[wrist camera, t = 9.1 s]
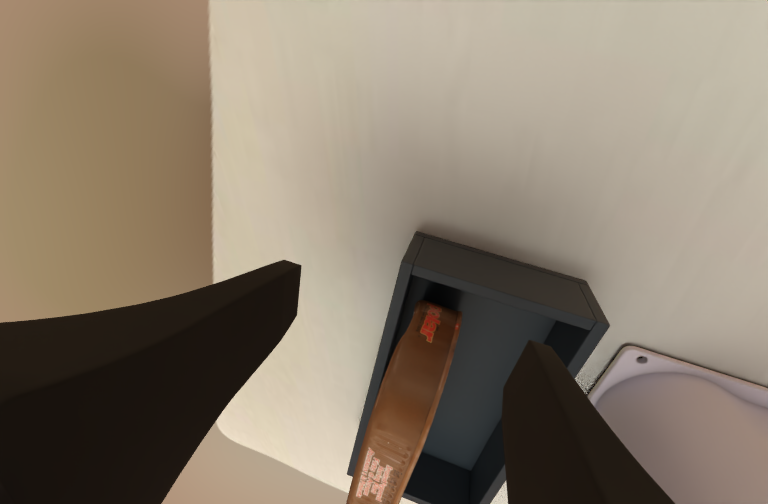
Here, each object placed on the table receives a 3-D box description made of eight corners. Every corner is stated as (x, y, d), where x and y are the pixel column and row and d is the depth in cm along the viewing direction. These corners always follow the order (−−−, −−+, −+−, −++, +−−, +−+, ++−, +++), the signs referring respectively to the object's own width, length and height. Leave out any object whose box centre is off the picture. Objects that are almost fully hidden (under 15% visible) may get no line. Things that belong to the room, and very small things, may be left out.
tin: (410, 438, 27) (382, 569, 19) (373, 423, 27) (332, 546, 20) (471, 284, 20) (463, 399, 12) (419, 268, 20) (381, 369, 13)
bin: (586, 280, 18) (611, 325, 15) (475, 471, 27) (474, 527, 24) (416, 230, 20) (401, 261, 16) (363, 427, 29) (346, 474, 25)
